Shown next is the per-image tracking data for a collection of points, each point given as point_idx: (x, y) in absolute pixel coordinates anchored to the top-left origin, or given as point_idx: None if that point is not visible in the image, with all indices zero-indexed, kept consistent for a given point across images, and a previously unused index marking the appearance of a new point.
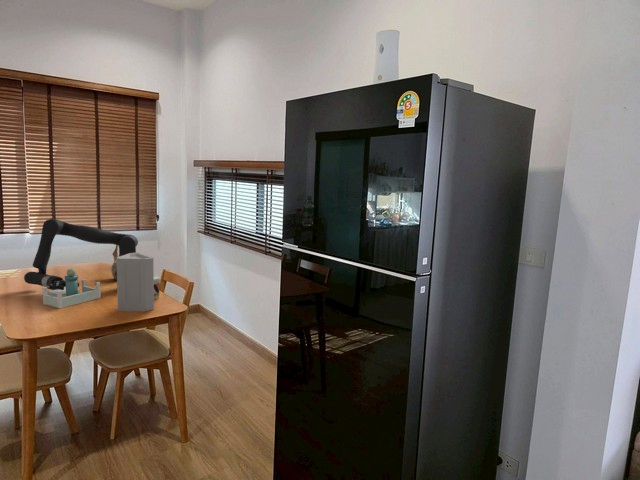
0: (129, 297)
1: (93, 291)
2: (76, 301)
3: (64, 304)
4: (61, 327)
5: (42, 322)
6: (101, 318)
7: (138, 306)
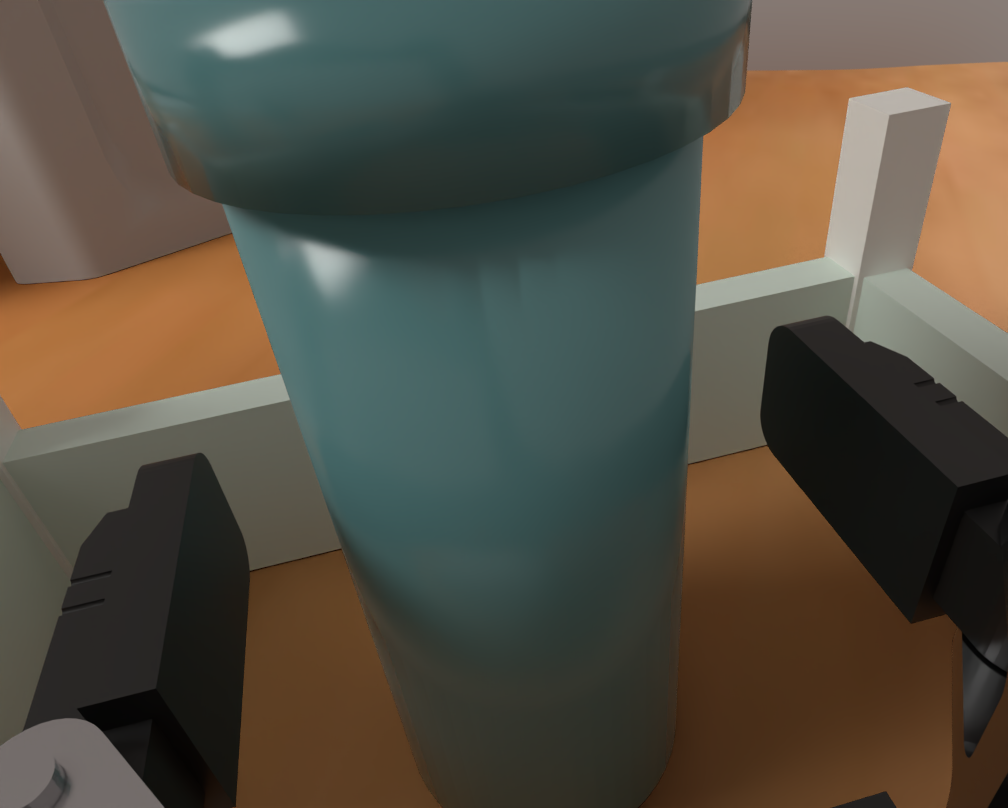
0: None
1: (138, 417)
2: None
3: None
4: (833, 98)
5: (1003, 163)
6: None
7: None
